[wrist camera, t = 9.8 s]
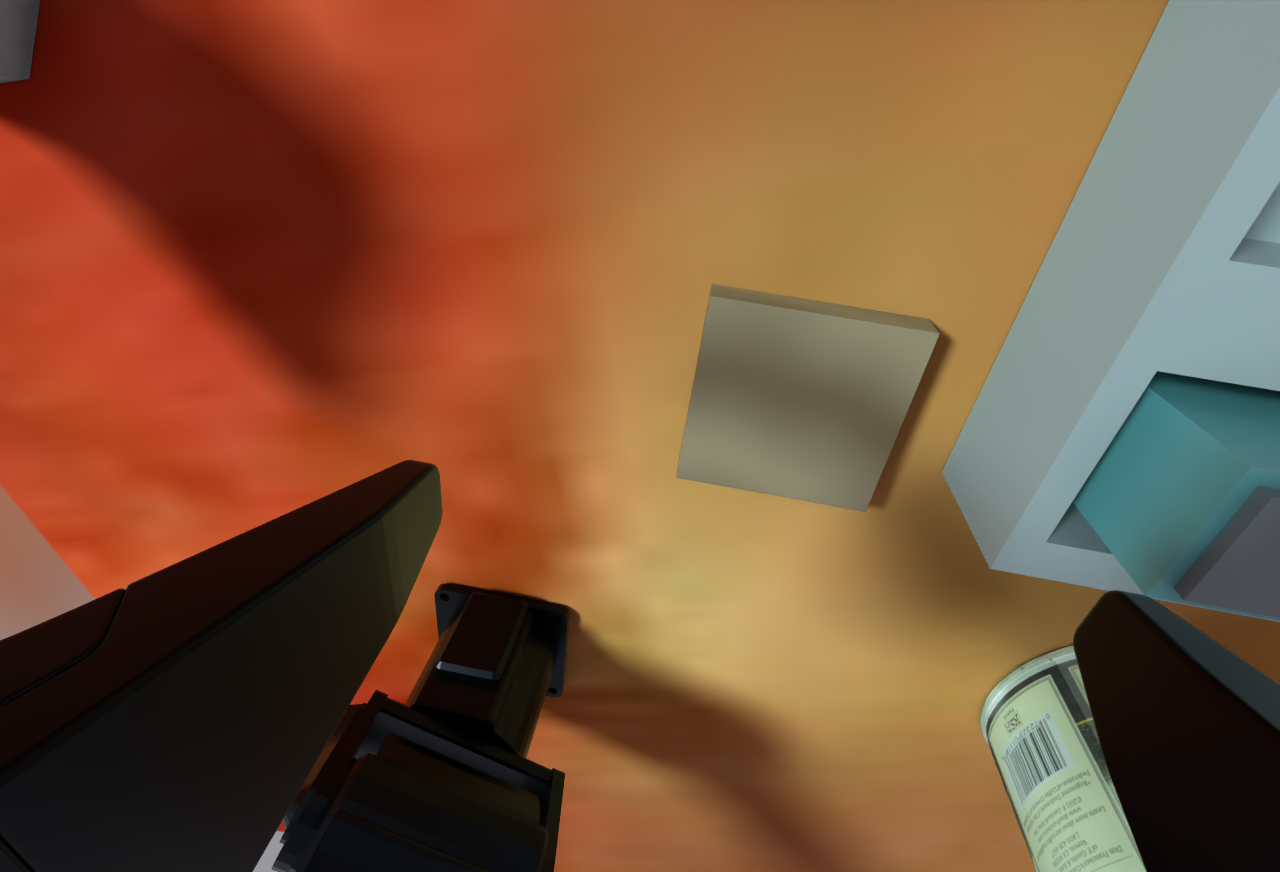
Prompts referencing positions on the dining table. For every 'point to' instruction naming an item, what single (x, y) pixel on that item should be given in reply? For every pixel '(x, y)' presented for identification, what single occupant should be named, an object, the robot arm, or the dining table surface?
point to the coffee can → (1057, 769)
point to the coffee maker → (17, 38)
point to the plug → (1194, 495)
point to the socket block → (1136, 289)
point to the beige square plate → (800, 395)
